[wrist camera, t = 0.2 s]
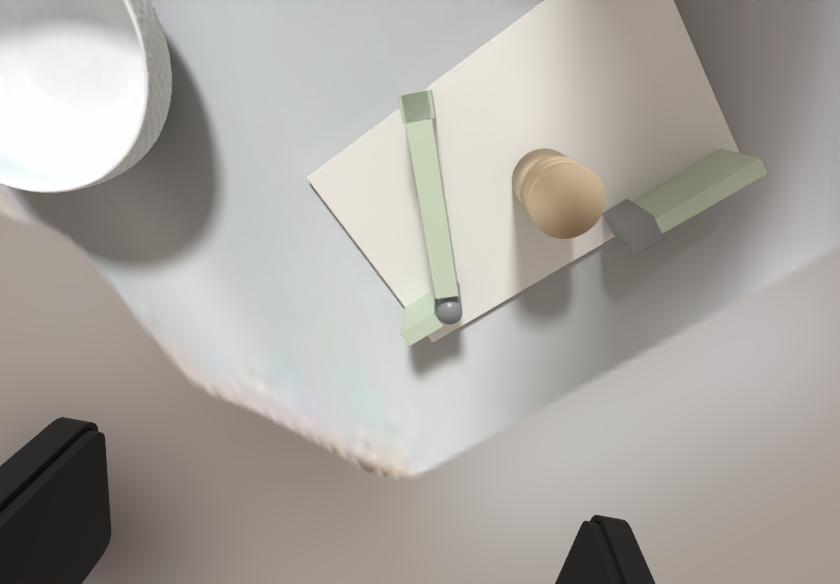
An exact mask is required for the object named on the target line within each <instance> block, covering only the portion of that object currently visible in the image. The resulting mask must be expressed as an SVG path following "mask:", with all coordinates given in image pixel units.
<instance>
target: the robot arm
mask: <svg viewBox="0 0 840 584" xmlns="http://www.w3.org/2000/svg"><path fill="white" fill-rule="evenodd" d="M110 537H111V521H110V506H109V491H108V477H107V461H106V446H105V436H104V434H103V433H101V432H98V427H97V425H96V424H95V423H92V422H86V421H80V420H75V419H70V418H64V417H61V418H58V419H56V420H55V421H53V422H52V423H51V424H50V425H48V426H47V427H46V428H45V429H44V430H43V431H41V432H40V433H39V434H38V435H37V436H35V437H34V438H33V439H32V440H31V441H29V442H28V443H27V444H26V445H25V446H24V447H22V448H21V449H20V450H19V451H18V452H16V453H15V454H14V455H13V456H12V457H11V458H9V459H8V460H7V461H6V462H5V463H4V464H2V465H1V466H0V584H82V583H83V581H84V580H85V579H86V577H87V576H88V574H89V573H90V572H91V570H92V569H93V568H94V566H95V565H96V563H97V562H98V561H99V559H100V558H101V557H102V555H103V554H104V552H105V550H106V548H107V546H108V544H109V541H110ZM555 584H655V582H654V580H653V577H652V575H651V573H650V571H649V568H648V566H647V564H646V561H645V559H644V557H643V555H642V552H641V550H640V548H639V545H638V543H637V541H636V539H635V536H634V534H633V532H632V530H631V527H630V526H629V524H628V523H627V522H626V521H625V520H621V519H616V518H611V517H605V516H600V515H595V516H593V517H592V519H591V520H590V522H589V521H584V522H583V523H582V525H581V527H580V529H579V531H578V534H577V536H576V538H575V540H574V543H573V545H572V547H571V550H570V552H569V554H568V556H567V558H566V561H565V563H564V565H563V567H562V570H561V572H560V574H559V576H558V579H557V581H556V583H555Z"/></svg>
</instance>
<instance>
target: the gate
mask: <svg viewBox="0 0 840 584" xmlns="http://www.w3.org/2000/svg"><path fill="white" fill-rule="evenodd" d="M398 100H399V106H400V112H401V118H402V123H403V124H406V128H407V133H408V139H409V145H410V151H411V157H412V163H413V169H414V174H415V180H416V186H417V192H418V198H419V204H420V210H421V215H422V221H423V227H424V233H425V239H426V245H427V250H428V256H429V262H430V268H431V274H432V280H433V286H434V291H435V297H436V299H439V298H446V297H453V296H458V286H457V274H456V266H455V259H454V252H453V246H452V239H451V232H450V226H449V219H448V212H447V206H446V199H445V192H444V186H443V179H442V172H441V165H440V159H439V152H438V145H437V139H436V132H435V125H434V118H435V115H436V113H435V106H434V99H433V92H432V90H428V91H423V92H417V93H412V94H406V95H401V96H398Z"/></svg>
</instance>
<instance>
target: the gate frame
mask: <svg viewBox="0 0 840 584" xmlns="http://www.w3.org/2000/svg"><path fill="white" fill-rule="evenodd" d="M428 90H432V92H433V99H434V106H435V113H436V115H435V118H434V125H435V132H436V139H437V145H438V152H439V159H440V165H441V172H442V179H443V186H444V192H445V199H446V206H447V212H448V219H449V226H450V232H451V239H452V246H453V252H454V259H455V266H456V274H457V286H458V296H453V297H446V298H439V299H436V297H435V291H434V286H433V280H432V274H431V268H430V262H429V256H428V250H427V245H426V239H425V233H424V227H423V221H422V215H421V210H420V204H419V198H418V192H417V186H416V180H415V174H414V169H413V163H412V157H411V151H410V145H409V139H408V133H407V128H406V124H403V123H402V118H401V112H400V108H399V109H398V110H396V111H395V112H394V113H392V114H391V115H389V116H388V117H387V118H385V119H384V120H383V121H381V122H380V123H379V124H377V125H376V126H375V127H373V128H372V129H371V130H369V131H368V132H367V133H365V134H364V135H363V136H361V137H360V138H359V139H357V140H356V141H355V142H353V143H352V144H351V145H349V146H348V147H347V148H345V149H344V150H343V151H341V152H340V153H339V154H337V155H336V156H335V157H333V158H332V159H331V160H329V161H328V162H327V163H325V164H324V165H323V166H321V167H320V168H319V169H317V170H316V171H315V172H313V173H312V174H310V175H309V176H308V177H306V178H307V179H308V180H309V182H310V183H311V184H312V186H313V187H314V188H315V190H316V191H317V192H318V194H319V195H320V196H321V198H322V199H323V200H324V201H325V203H326V204H327V205H328V207H329V208H330V209H331V211H332V212H333V213H334V215H335V216H336V217H337V219H338V220H339V221H340V222H341V224H342V225H343V226H344V228H345V229H346V230H347V232H348V233H349V234H350V236H351V237H352V238H353V240H354V241H355V242H356V243H357V245H358V246H359V247H360V249H361V250H362V251H363V253H364V254H365V255H366V257H367V258H368V259H369V261H370V262H371V263H372V264H373V266H374V267H375V268H376V270H377V271H378V272H379V274H380V275H381V276H382V278H383V279H384V280H385V282H386V283H387V284H388V285H389V287H390V288H391V289H392V291H393V292H394V293H395V295H396V296H397V297H398V299H399V300H400V301H401V303H402V304H403V305H404V306H405V310H404V316H403V322H402V328H401V335H402V337H403V338H404V339H405V341H406V342H407V343H408V344H409V346H410V345H412V344H414V343H415V342H417V341H419V340H421V339H422V338H424V337H426V336H427V337H428V338H429V339H430V341H431V342H432V343H433V342H435V341H437V340H439V339H440V338H442V337H444V336H445V335H447V334H449V333H451V332H452V331H454V330H456V329H457V328H459V327H461V326H463V325H464V324H466V323H468V322H469V321H471V320H473V319H475V318H476V317H478V316H480V315H481V314H483V313H485V312H487V311H488V310H490V309H492V308H493V307H495V306H497V305H499V304H500V303H502V302H504V301H505V300H507V299H509V298H511V297H512V296H514V295H516V294H518V293H519V292H521V291H523V290H524V289H526V288H528V287H530V286H531V285H533V284H535V283H536V282H538V281H540V280H542V279H543V278H545V277H547V276H548V275H550V274H552V273H554V272H555V271H557V270H559V269H560V268H562V267H564V266H566V265H567V264H569V263H571V262H572V261H574V260H576V259H578V258H579V257H581V256H583V255H584V254H586V253H588V252H590V251H591V250H593V249H595V248H596V247H598V246H600V245H602V244H603V243H605V242H607V241H608V240H610V239H612V238H614V237H615V236H616V237H617V238H618V239H620V240H621V241H622V242H623V243H624V244H625V245H627V246H628V247H629V248H630V249H631V250H632V251H634V252H635V253H636V254H639V253H641V252H642V251H644V250H646V249H648V248H649V247H651V246H653V245H655V244H656V243H658V242H660V241H662V240H664V239H665V238H664V236H663V233H665V232H667V231H668V230H670V229H672V228H674V227H675V226H677V225H679V224H681V223H682V222H684V221H686V220H688V219H690V218H691V217H693V216H695V215H697V214H698V213H700V212H702V211H704V210H705V209H707V208H709V207H711V206H712V205H714V204H716V203H718V202H719V201H721V200H723V199H725V198H726V197H728V196H730V195H732V194H733V193H735V192H737V191H739V190H740V189H742V188H744V187H746V186H748V185H749V184H751V183H753V182H755V181H756V180H758V179H760V178H762V177H763V176H765V175H767V174H768V172H767V170H766V167H765V165H764V163H763V160H762V158H761V157H757V156H752V155H748V154H743V153H740V152H739V150H738V148H737V145H736V143H735V141H734V138H733V136H732V134H731V131H730V129H729V127H728V125H727V122H726V120H725V118H724V115H723V113H722V111H721V108H720V106H719V104H718V101H717V99H716V97H715V95H714V92H713V90H712V88H711V85H710V83H709V81H708V78H707V76H706V74H705V71H704V69H703V67H702V64H701V62H700V60H699V58H698V55H697V53H696V51H695V48H694V46H693V44H692V41H691V39H690V37H689V34H688V32H687V30H686V27H685V25H684V23H683V21H682V18H681V16H680V14H679V11H678V9H677V7H676V4H675V2H674V0H543V1H542V2H541V3H539V4H538V5H537V6H535V7H534V8H533V9H531V10H530V11H529V12H527V13H526V14H525V15H523V16H522V17H521V18H519V19H518V20H517V21H515V22H514V23H513V24H511V25H510V26H509V27H507V28H506V29H505V30H503V31H502V32H501V33H499V34H498V35H497V36H495V37H494V38H493V39H491V40H490V41H489V42H487V43H486V44H485V45H483V46H482V47H481V48H479V49H478V50H477V51H475V52H474V53H473V54H471V55H470V56H468V57H467V58H466V59H464V60H463V61H462V62H460V63H459V64H458V65H456V66H455V67H454V68H452V69H451V70H450V71H448V72H447V73H446V74H444V75H443V76H442V77H440V78H439V79H438V80H436V81H435V82H434V83H432V84H431V85H430V86H428V87H427V88H426V89H424V90H423V91H428ZM423 91H422V92H423ZM542 148H547V149H552V150H555V151H557V152H559V153H561V154H563V155H565V156H566V157H568V158H570V159H572V160H574V161H575V162H577V163H579V164H581V165H583V166H584V167H586V168H588V169H590V170H591V171H593V172H594V173H595V174H596V175H597V176H598V177H599V178H600V180H601V181H602V183H603V185H604V189H605V193H606V202H605V208H604V211H603V213H602V215H601V217H600V219H599V220H598V222H597V223H596V224H595V225H594V226H593V227H592V228H591V229H590V230H589V231H587V232H586V233H584V234H582V235H580V236H578V237H574V238H570V239H558V238H553V237H550V236H548V235H546V234H545V233H543V232H542V231H541V230H540V229H539V228H538V227H537V226H536V225H535V223H534V222H533V220H532V219H531V217H530V216H529V214H528V213H527V212H526V210H525V209H524V207H523V206H522V204H521V203H520V201H519V200H518V198H517V197H516V195H515V193H514V191H513V188H512V175H513V171H514V169H515V166H516V165H517V163H518V162H519V160H520V159H521V158H522V157H523V156H525V155H526V154H527V153H529V152H531V151H533V150H537V149H542Z"/></svg>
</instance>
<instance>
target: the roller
mask: <svg viewBox="0 0 840 584" xmlns="http://www.w3.org/2000/svg"><path fill="white" fill-rule="evenodd" d="M512 188H513V191H514V193H515V195H516V197H517V198H518V200H519V201H520V203H521V204H522V206H523V207H524V209H525V210H526V212H527V213H528V214H529V216H530V217H531V219H532V220H533V222H534V223H535V225H536V226H537V227H538V228H539V229H540V230H541V231H542V232H543V233H545V234H546V235H548V236H550V237H553V238H558V239H570V238H574V237H578V236H580V235H582V234H584V233H586V232H587V231H589V230H590V229H591V228H592V227H593V226H594V225H595V224H596V223H597V222H598V220H599V219H600V217H601V215H602V213H603V211H604V208H605V202H606V193H605V189H604V185H603V183H602V181H601V180H600V178H599V177H598V176H597V175H596V174H595V173H594V172H593V171H591V170H590V169H588V168H586V167H584V166H583V165H581V164H579V163H577V162H575V161H574V160H572V159H570V158H568V157H566V156H565V155H563V154H561V153H559V152H557V151H555V150H552V149H547V148H542V149H537V150H533V151H531V152H529V153H527V154H526V155H525V156H523V157H522V158H521V159H520V160H519V162H518V163H517V165H516V166H515V169H514V171H513V175H512Z"/></svg>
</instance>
